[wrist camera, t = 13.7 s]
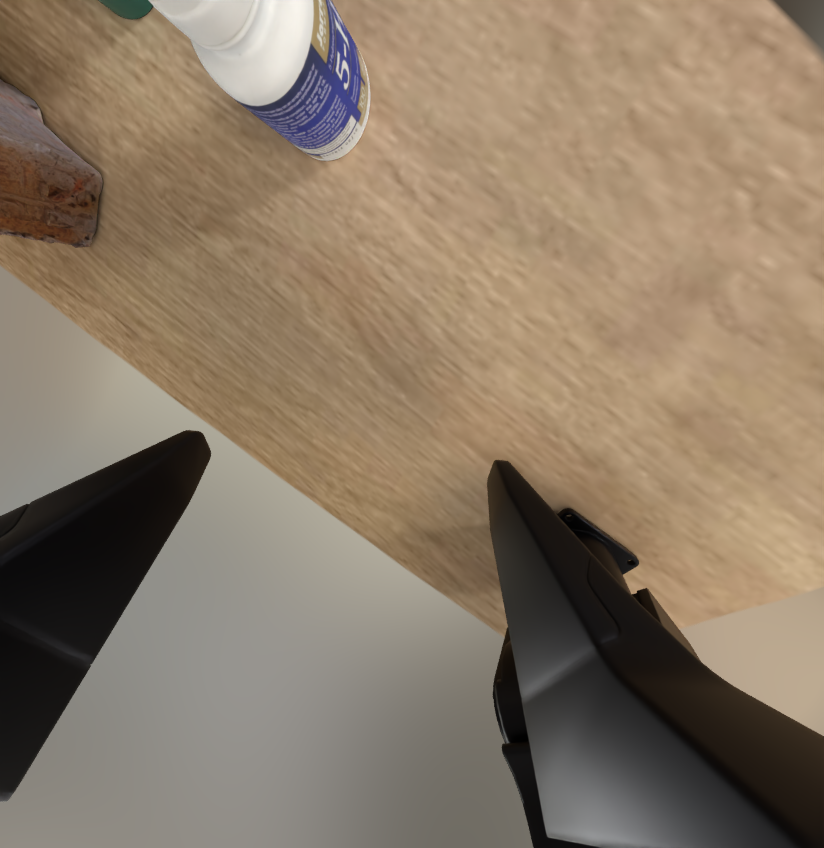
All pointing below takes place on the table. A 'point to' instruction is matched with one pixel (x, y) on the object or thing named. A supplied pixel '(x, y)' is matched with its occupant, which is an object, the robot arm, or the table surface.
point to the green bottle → (128, 7)
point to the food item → (42, 178)
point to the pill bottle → (283, 66)
